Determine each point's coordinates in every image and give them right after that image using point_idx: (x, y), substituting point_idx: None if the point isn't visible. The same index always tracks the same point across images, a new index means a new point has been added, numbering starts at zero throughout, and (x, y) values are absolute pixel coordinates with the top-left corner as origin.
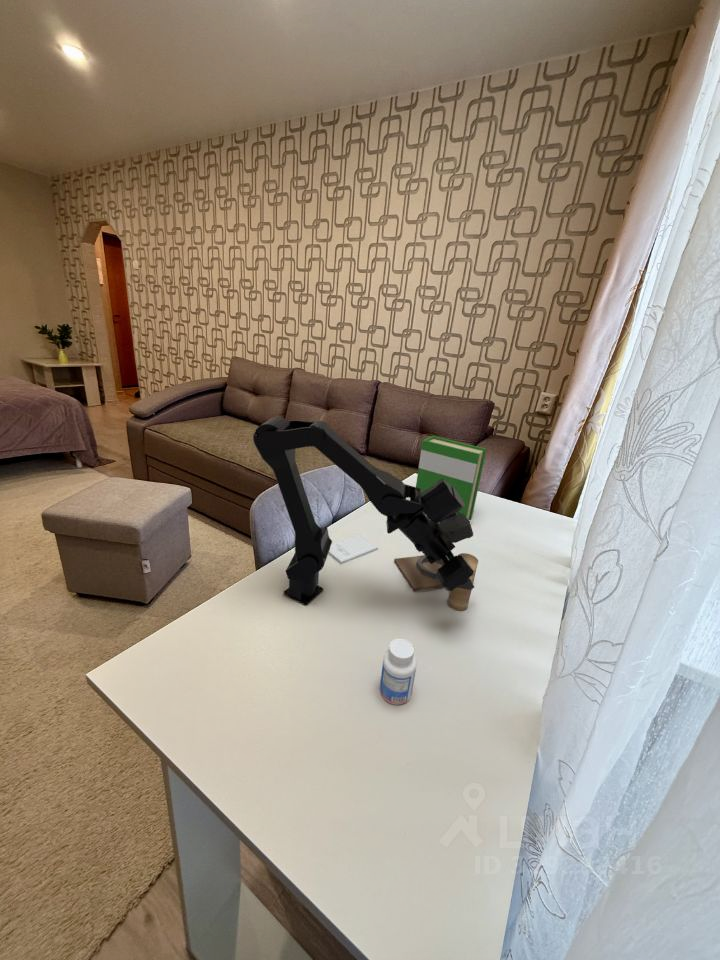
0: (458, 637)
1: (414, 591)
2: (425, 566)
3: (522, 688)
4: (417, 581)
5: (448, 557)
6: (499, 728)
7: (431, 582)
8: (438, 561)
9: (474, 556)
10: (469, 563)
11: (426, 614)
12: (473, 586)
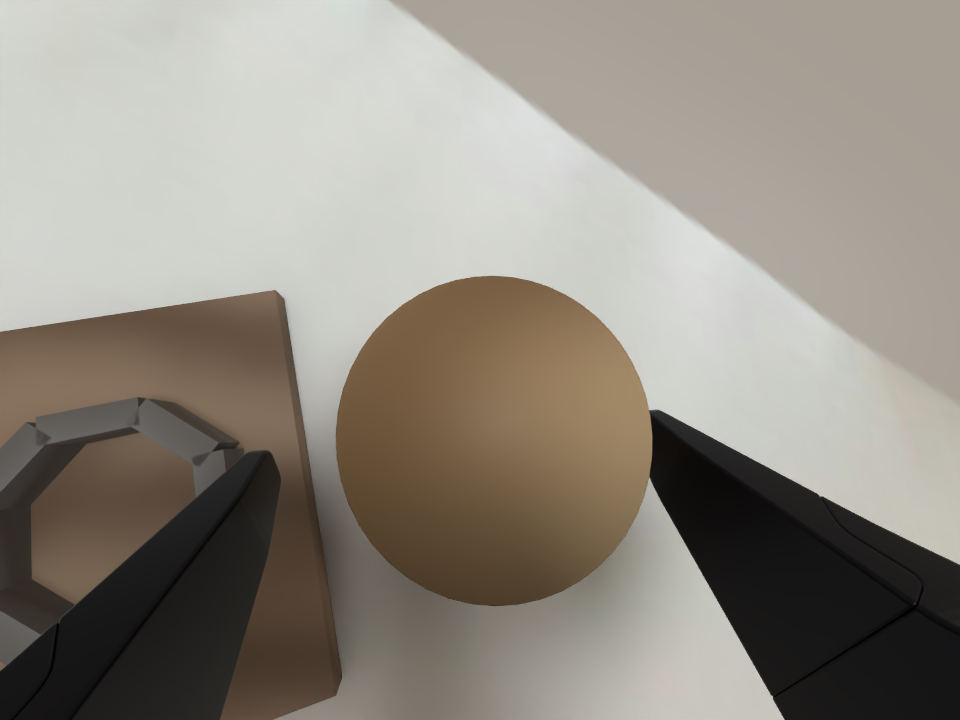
0: (645, 491)
1: (340, 671)
2: (89, 570)
3: (810, 343)
4: (265, 660)
5: (235, 578)
6: (939, 465)
7: (282, 558)
8: (50, 466)
9: (429, 291)
10: (611, 431)
11: (522, 619)
12: (672, 420)
